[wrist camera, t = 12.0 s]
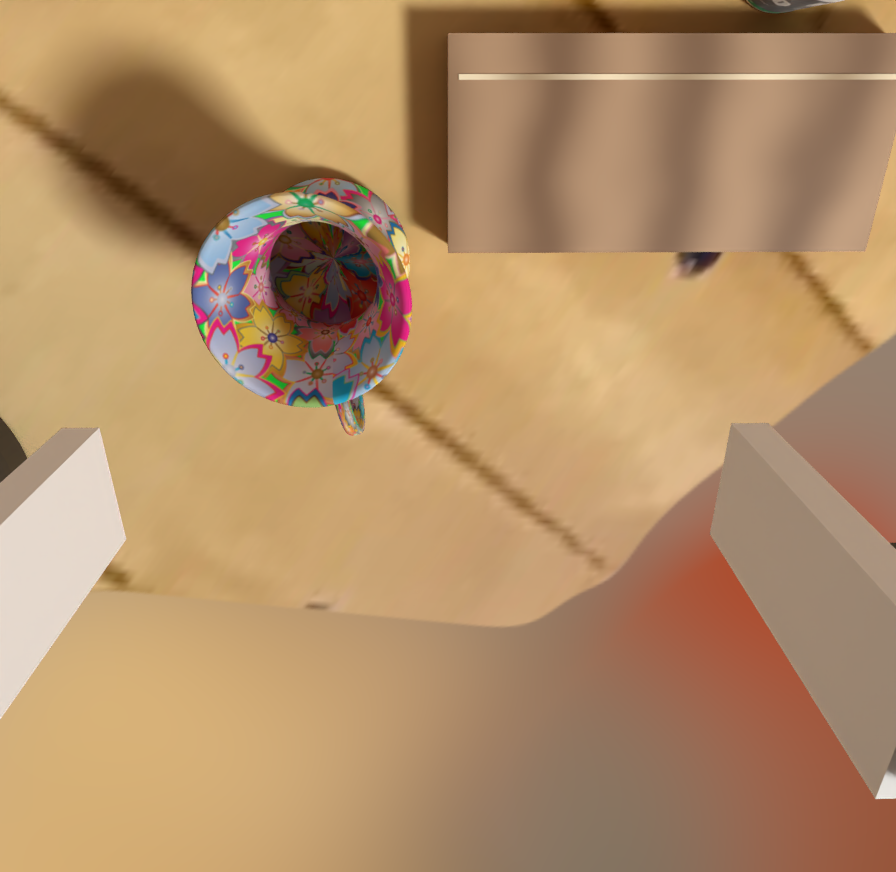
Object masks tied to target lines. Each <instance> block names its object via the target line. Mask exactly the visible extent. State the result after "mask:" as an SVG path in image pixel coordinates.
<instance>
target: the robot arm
mask: <svg viewBox="0 0 896 872" xmlns="http://www.w3.org/2000/svg"><path fill="white" fill-rule="evenodd" d="M710 535H711V536H712V538H713V540H714V541H715V543H716V544H717V546H718V548H719V549H720V551H721V552H722V554H723V555H724V557H725V558H726V560H727V562H728V564H729V565H730V567H731V568H732V570H733V572H734V573H735V575H736V576H737V578H738V580H739V581H740V583H741V584H742V586H743V587H744V589H745V591H746V592H747V594H748V596H749V597H750V599H751V600H752V602H753V604H754V605H755V607H756V608H757V610H758V612H759V613H760V615H761V616H762V618H763V620H764V621H765V623H766V624H767V626H768V628H769V629H770V631H771V632H772V634H773V635H774V637H775V639H776V640H777V642H778V643H779V645H780V647H781V648H782V650H783V652H784V653H785V655H786V656H787V658H788V660H789V661H790V663H791V664H792V666H793V668H794V669H795V671H796V672H797V674H798V676H799V677H800V679H801V680H802V682H803V684H804V685H805V687H806V688H807V690H808V692H809V693H810V695H811V696H812V698H813V700H814V701H815V703H816V704H817V706H818V708H819V709H820V711H821V712H822V714H823V716H824V717H825V719H826V720H827V722H828V724H829V725H830V727H831V728H832V730H833V732H834V733H835V735H836V736H837V738H838V740H839V741H840V743H841V744H842V746H843V748H844V749H845V751H846V752H847V754H848V756H849V757H850V759H851V760H852V762H853V763H854V765H855V767H856V768H857V770H858V772H859V773H860V775H861V776H862V778H863V780H864V781H865V783H866V784H867V786H868V788H869V789H870V791H871V792H872V794H873V796H874V797H875V799H884V798H885V799H887V798H888V799H890V798H896V543H889V542H888V541H887V540H886V539H885V538H884V537H883V536H882V535H881V534H880V533H879V532H878V531H877V530H876V529H875V528H874V527H873V526H872V525H871V524H870V523H869V522H868V521H867V520H866V519H865V518H863V517H862V515H861V514H859V513H858V512H857V511H856V510H855V509H854V508H853V507H852V506H851V505H850V504H849V503H848V502H847V501H846V500H845V499H844V498H843V497H842V496H841V495H840V494H839V493H838V492H837V491H836V490H835V489H834V488H833V487H832V486H831V485H830V484H829V483H828V482H827V481H826V480H825V479H824V478H823V477H822V476H821V475H820V474H819V473H818V472H817V471H816V470H815V469H814V468H813V467H812V466H811V465H810V464H809V463H808V462H807V461H806V460H805V459H804V458H803V457H802V456H801V455H800V454H799V453H798V452H797V451H796V450H795V449H794V448H793V447H792V446H791V445H790V444H789V443H787V441H786V440H784V439H783V438H782V437H781V436H780V435H779V434H778V433H777V432H776V431H775V430H774V429H773V428H772V427H771V426H770V425H769V424H768V423H731V428H730V433H729V438H728V443H727V448H726V454H725V459H724V464H723V469H722V474H721V479H720V485H719V490H718V495H717V500H716V506H715V510H714V516H713V521H712V526H711V531H710ZM125 540H126V537H125V532H124V528H123V524H122V520H121V516H120V512H119V507H118V503H117V499H116V495H115V491H114V487H113V483H112V478H111V474H110V470H109V466H108V462H107V458H106V454H105V449H104V445H103V441H102V437H101V433H100V429H99V428H61V429H60V430H59V431H58V432H57V433H56V434H55V435H54V436H52V437H51V438H50V439H49V440H48V441H47V442H46V443H45V444H43V445H42V446H41V447H40V448H39V449H38V450H37V451H36V452H34V453H33V454H32V455H31V456H30V457H29V458H28V459H27V457H26V455H25V453H24V451H23V449H22V447H21V445H20V444H19V442H18V440H17V439H16V437H15V436H14V434H13V433H12V432H11V430H10V429H9V428H8V426H7V425H6V424H5V423H4V422H3V421H2V419H1V418H0V719H1V717H2V716H3V715H4V713H5V712H6V710H7V709H8V707H9V706H10V704H11V703H12V702H13V700H14V699H15V697H16V696H17V695H18V693H19V692H20V690H21V689H22V687H23V686H24V685H25V683H26V682H27V680H28V679H29V677H30V676H31V675H32V673H33V672H34V670H35V669H36V667H37V666H38V665H39V663H40V662H41V660H42V659H43V657H44V656H45V655H46V653H47V652H48V650H49V649H50V647H51V646H52V645H53V643H54V642H55V640H56V639H57V637H58V636H59V635H60V633H61V632H62V630H63V629H64V627H65V626H66V625H67V623H68V622H69V620H70V618H71V617H72V616H73V615H74V613H75V612H76V610H77V609H78V607H79V606H80V605H81V603H82V601H83V600H84V599H85V597H86V596H87V595H88V593H89V592H90V590H91V589H92V587H93V586H94V585H95V583H96V582H97V580H98V579H99V577H100V576H101V575H102V573H103V572H104V570H105V569H106V567H107V566H108V565H109V563H110V562H111V560H112V559H113V557H114V556H115V555H116V553H117V552H118V550H119V549H120V547H121V546H122V545H123V543H124V542H125Z"/></svg>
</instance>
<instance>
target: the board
mask: <svg viewBox="0 0 896 872" xmlns="http://www.w3.org/2000/svg"><path fill="white" fill-rule="evenodd" d="M447 130H448V253H559V252H825V251H866V247H867V243H868V239H869V235H870V231H871V227H872V223H873V219H874V215H875V211H876V208H877V204H878V200H879V196H880V192H881V188H882V184H883V180H884V176H885V172H886V168H887V164H888V161H889V157H890V153H891V149H892V145H893V141H894V137H895V133H896V33H448V37H447Z"/></svg>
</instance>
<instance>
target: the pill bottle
mask: <svg viewBox="0 0 896 872" xmlns="http://www.w3.org/2000/svg"><path fill="white" fill-rule="evenodd" d="M746 1H747V2H748V3H749V4H750V5H751V6H753V7H754V8H756V9H758V10H760V11H762V12H766V13H785V12H790V11H794V10H798V9H803V8H808V7H813V6H819V5H823V4H829V3H834V2H839V1H843V0H746Z"/></svg>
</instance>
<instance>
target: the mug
mask: <svg viewBox="0 0 896 872" xmlns="http://www.w3.org/2000/svg"><path fill="white" fill-rule="evenodd" d="M409 271H410V254H409V247H408V242H407V239H406V235H405V233H404V230H403V228H402V226H401V224H400V222H399V220H398V219H397V217H396V216H395V214H394V213H393V211H392V210H391V209H390V208H389V206H388V205H387V204H386V203H385V202H384V201H383V200H382V199H380V198H379V197H378V196H377V195H375V194H374V193H373V192H371V191H370V190H368V189H366V188H364V187H362V186H360V185H358V184H356V183H353V182H350V181H346V180H342V179H335V178H318V179H312V180H307V181H304V182H301V183H298V184H296V185H294V186H292V187H290V188H288V189H287V190H285V191H284V192H281V193H274V194H269V195H265V196H261V197H258V198H255V199H253V200H251V201H248V202H246V203H244V204H242V205H241V206H239V207H237V208H235V209H234V210H233V211H231V212H230V213H229V214H227V215H226V216H225V217H224V218H223V219H222V220H221V221H219V222H218V223H217V225H216V226H215V227H214V228H213V229H212V230H211V232H210V233H209V235H208V236H207V238H206V239H205V241H204V243H203V245H202V247H201V249H200V251H199V254H198V256H197V259H196V262H195V266H194V270H193V276H192V287H191V294H192V305H193V312H194V316H195V320H196V323H197V326H198V329H199V332H200V334H201V336H202V338H203V341H204V343H205V344H206V346H207V348H208V349H209V351H210V353H211V354H212V356H213V357H214V358H215V360H216V361H217V362H218V363H219V365H220V366H221V367H222V368H223V369H224V370H225V371H226V372H227V373H228V374H229V375H230V376H231V377H232V378H233V379H235V380H236V381H237V382H238V383H240V384H241V385H243V386H244V387H245V388H247V389H249V390H250V391H252V392H254V393H255V394H257V395H260V396H262V397H264V398H266V399H269V400H271V401H274V402H277V403H281V404H285V405H290V406H296V407H326V406H331V405H335V406H336V409H337V413H338V416H339V419H340V421H341V424H342V426H343V428H344V430H345V431H346V433H347V434H349V435H351V436H354V435H358V434H361V433H362V432H363V431H364V428H365V409H364V399H363V394H364V393H365V392H367V391H369V390H370V389H372V388H373V387H374V386H375V385H377V384H378V383H379V382H380V381H381V380H382V379H383V378H384V377H385V376H386V375H387V374H388V373H389V372H390V371H391V369H392V368H393V367H394V365H395V364H396V362H397V361H398V359H399V357H400V355H401V354H402V352H403V349H404V347H405V344H406V342H407V338H408V335H409V331H410V326H411V317H412V299H411V291H410V286H409V281H408V277H409Z"/></svg>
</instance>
